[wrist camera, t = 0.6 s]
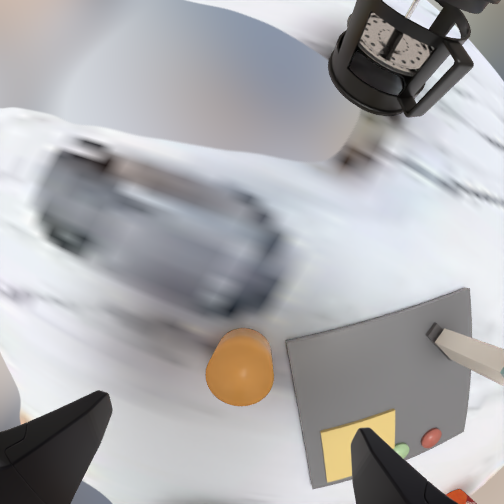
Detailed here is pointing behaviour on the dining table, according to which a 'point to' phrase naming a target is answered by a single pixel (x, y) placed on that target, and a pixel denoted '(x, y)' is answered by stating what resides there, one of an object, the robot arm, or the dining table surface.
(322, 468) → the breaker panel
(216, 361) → the cap
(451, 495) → the paper cup
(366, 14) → the french press
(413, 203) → the dining table surface
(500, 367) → the lever
